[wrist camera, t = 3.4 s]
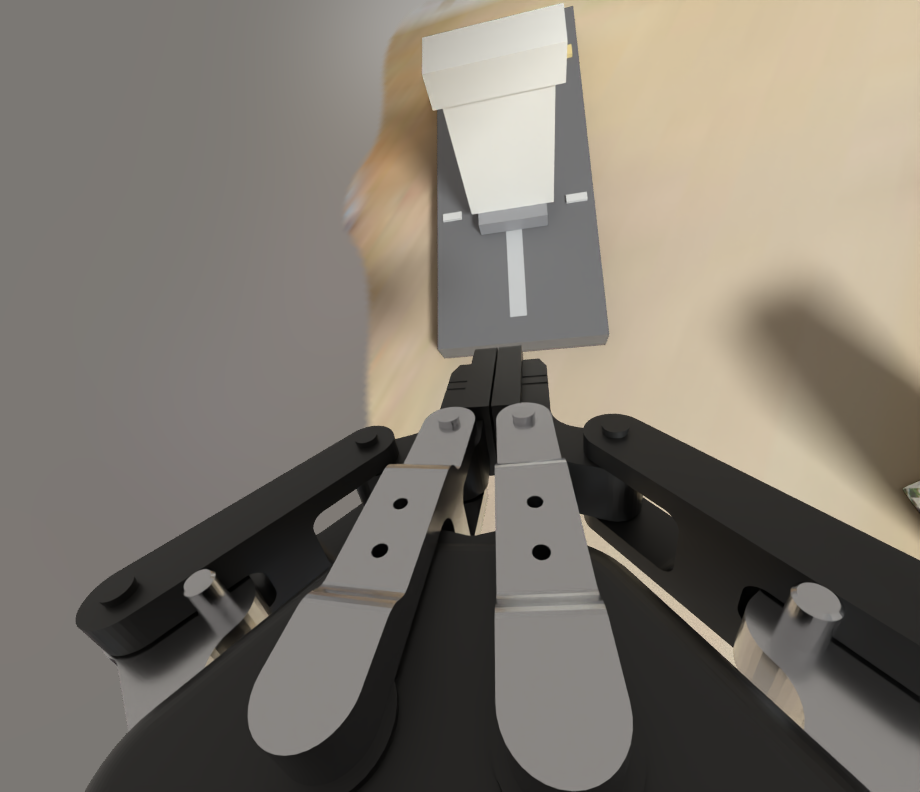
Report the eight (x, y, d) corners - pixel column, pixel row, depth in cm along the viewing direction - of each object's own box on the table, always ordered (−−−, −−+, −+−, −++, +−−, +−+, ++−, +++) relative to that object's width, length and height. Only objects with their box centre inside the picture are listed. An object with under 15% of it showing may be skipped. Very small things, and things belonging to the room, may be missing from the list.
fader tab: (557, 177, 31) (562, -10, 20) (561, 223, 30) (569, 54, 19) (467, 192, 33) (422, 25, 21) (468, 236, 32) (421, 87, 20)
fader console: (571, 31, 37) (573, 2, 35) (605, 344, 30) (609, 332, 27) (442, 61, 39) (436, 35, 37) (444, 358, 32) (436, 348, 30)
